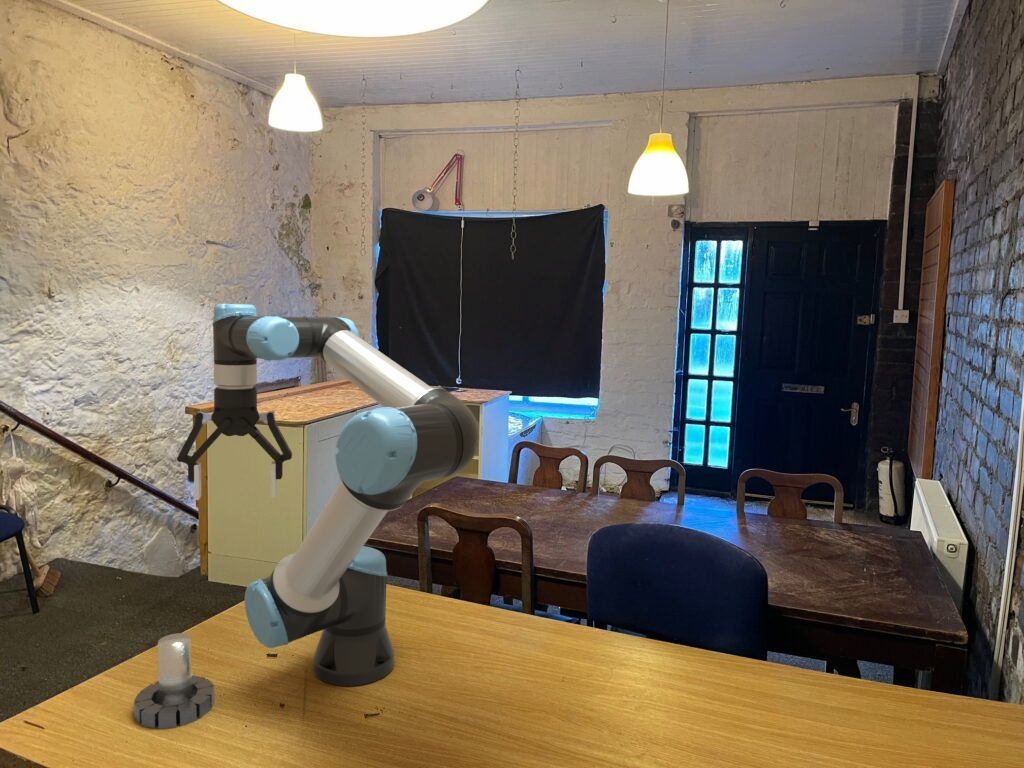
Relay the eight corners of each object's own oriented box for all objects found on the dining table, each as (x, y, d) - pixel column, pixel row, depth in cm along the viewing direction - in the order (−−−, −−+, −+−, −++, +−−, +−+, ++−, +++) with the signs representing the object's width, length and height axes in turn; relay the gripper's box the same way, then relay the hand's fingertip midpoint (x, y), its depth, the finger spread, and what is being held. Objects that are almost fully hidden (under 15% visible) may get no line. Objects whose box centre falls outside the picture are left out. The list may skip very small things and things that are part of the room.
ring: (218, 685, 128) (218, 672, 127) (207, 723, 116) (207, 709, 116) (145, 692, 125) (144, 679, 124) (126, 732, 113) (126, 717, 113)
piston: (194, 698, 123) (193, 632, 122) (188, 714, 119) (187, 645, 117) (162, 701, 122) (161, 634, 121) (156, 717, 117) (154, 648, 116)
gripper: (305, 384, 140) (305, 489, 142) (167, 383, 133) (169, 493, 136) (304, 389, 132) (303, 499, 135) (158, 388, 126) (160, 504, 128)
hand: (236, 497), depth 135 cm, fingers open, 13 cm apart
